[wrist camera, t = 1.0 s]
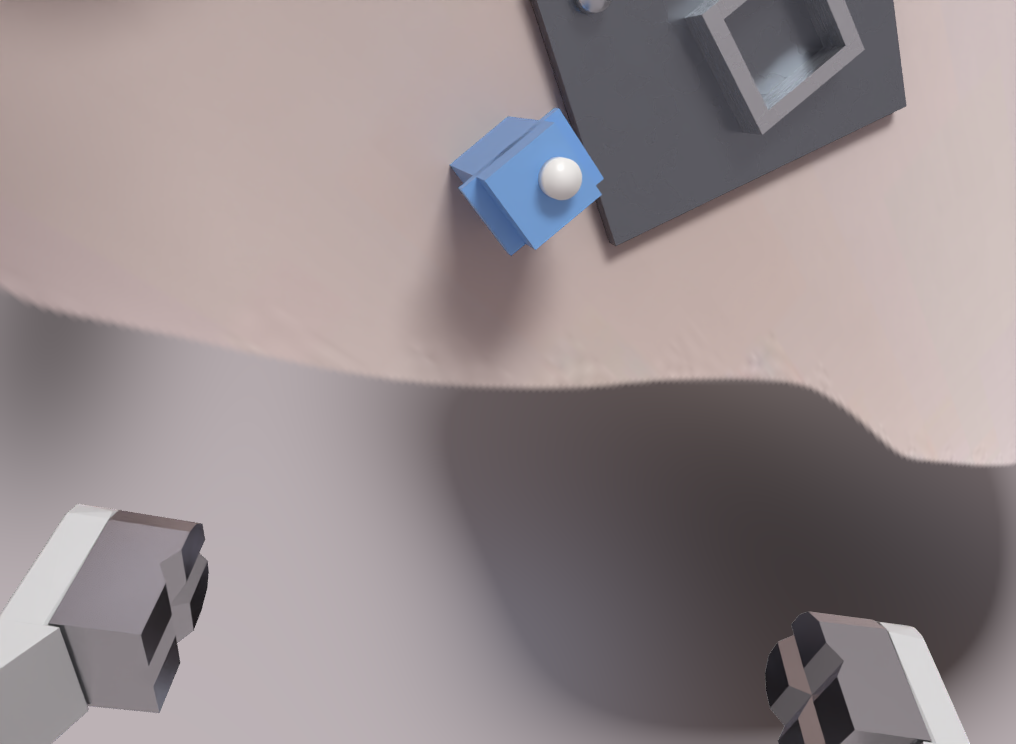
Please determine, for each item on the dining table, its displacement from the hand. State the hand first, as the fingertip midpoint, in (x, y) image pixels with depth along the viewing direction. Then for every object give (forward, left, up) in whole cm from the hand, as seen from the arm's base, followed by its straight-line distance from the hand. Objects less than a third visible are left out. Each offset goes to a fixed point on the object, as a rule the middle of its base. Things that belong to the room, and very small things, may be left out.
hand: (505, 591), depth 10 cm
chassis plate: (+1, +26, -35) cm, 44 cm away
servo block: (+2, +10, -35) cm, 37 cm away
